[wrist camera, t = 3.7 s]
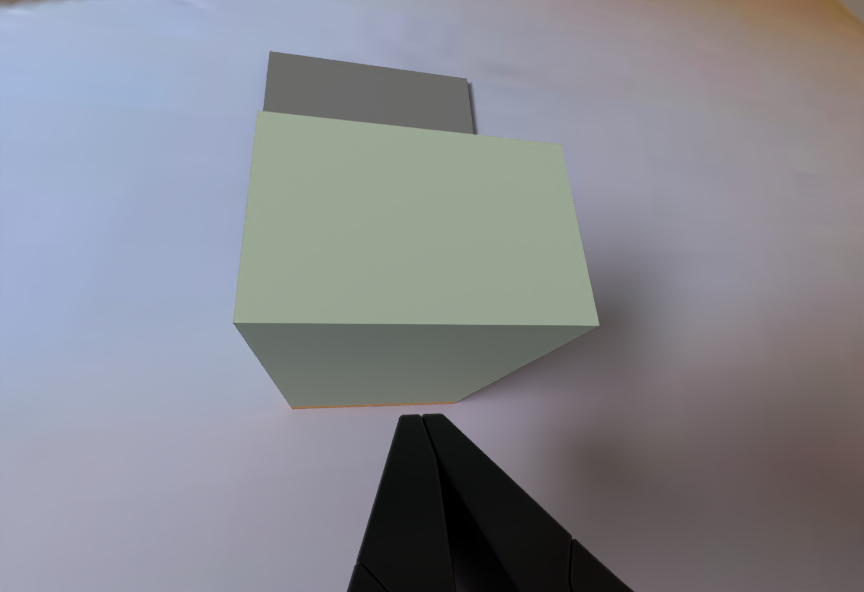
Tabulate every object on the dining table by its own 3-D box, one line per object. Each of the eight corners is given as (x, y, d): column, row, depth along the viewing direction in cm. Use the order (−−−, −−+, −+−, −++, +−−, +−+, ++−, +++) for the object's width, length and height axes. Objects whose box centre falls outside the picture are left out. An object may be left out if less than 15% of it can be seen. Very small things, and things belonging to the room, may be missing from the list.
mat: (489, 287, 19) (491, 284, 18) (246, 280, 17) (245, 277, 16) (465, 83, 23) (467, 78, 23) (270, 56, 21) (269, 51, 21)
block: (453, 403, 17) (599, 325, 8) (291, 408, 15) (233, 322, 6) (446, 307, 18) (561, 143, 9) (298, 304, 17) (257, 110, 8)
